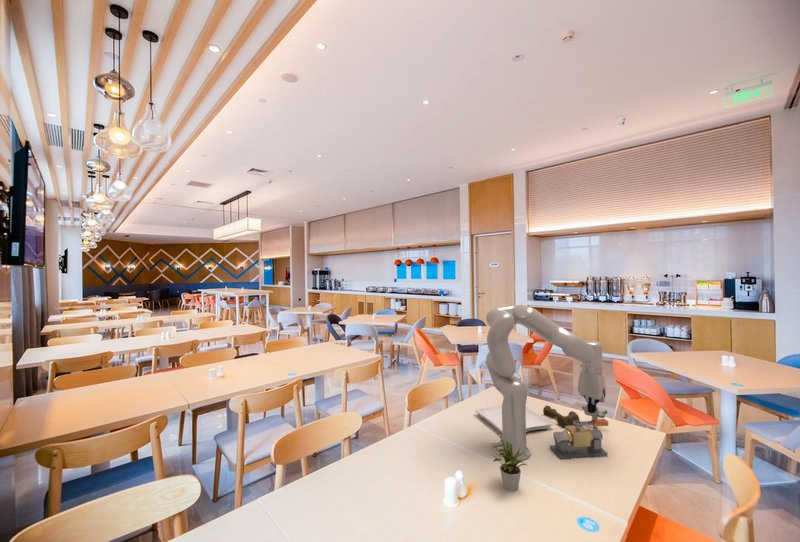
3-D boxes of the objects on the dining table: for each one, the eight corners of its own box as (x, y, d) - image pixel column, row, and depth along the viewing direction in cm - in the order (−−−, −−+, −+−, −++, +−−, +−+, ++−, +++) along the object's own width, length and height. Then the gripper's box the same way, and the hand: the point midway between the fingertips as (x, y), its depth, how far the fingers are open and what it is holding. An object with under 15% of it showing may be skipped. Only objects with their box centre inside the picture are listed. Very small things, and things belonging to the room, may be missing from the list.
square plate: (474, 416, 179) (474, 409, 179) (518, 408, 187) (518, 401, 187) (504, 440, 153) (504, 432, 153) (554, 430, 162) (554, 422, 162)
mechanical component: (607, 432, 158) (606, 411, 157) (582, 426, 164) (581, 406, 164) (607, 430, 160) (607, 409, 160) (583, 424, 166) (582, 404, 166)
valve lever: (575, 427, 140) (575, 422, 140) (571, 424, 143) (571, 419, 143) (609, 426, 140) (608, 421, 140) (604, 422, 144) (603, 417, 144)
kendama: (553, 413, 181) (586, 428, 162) (539, 417, 177) (571, 433, 158) (552, 402, 181) (585, 416, 162) (538, 406, 177) (571, 420, 158)
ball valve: (560, 459, 137) (559, 431, 137) (550, 449, 145) (549, 422, 145) (607, 456, 138) (606, 429, 138) (594, 446, 146) (594, 420, 146)
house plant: (479, 477, 126) (478, 434, 126) (509, 469, 131) (508, 427, 131) (503, 502, 113) (502, 453, 113) (536, 491, 118) (535, 444, 118)
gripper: (570, 366, 151) (570, 407, 151) (604, 375, 138) (604, 420, 138) (581, 364, 155) (580, 404, 155) (614, 373, 142) (614, 417, 142)
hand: (591, 412), depth 147 cm, fingers closed
